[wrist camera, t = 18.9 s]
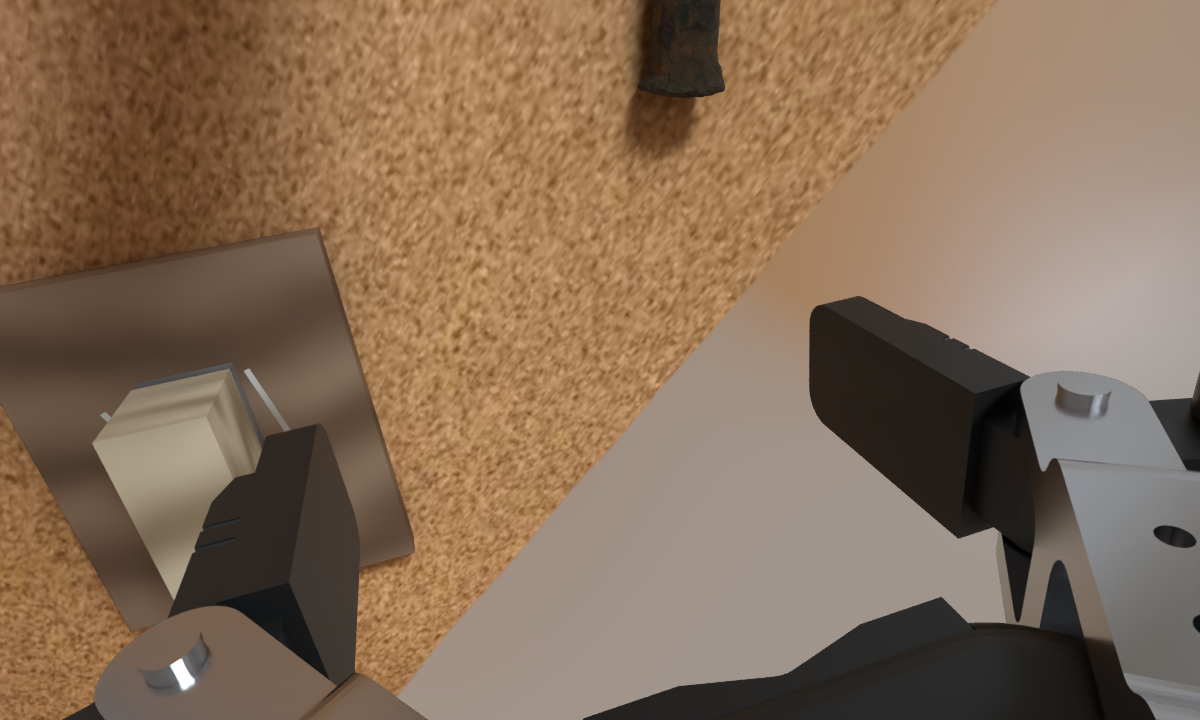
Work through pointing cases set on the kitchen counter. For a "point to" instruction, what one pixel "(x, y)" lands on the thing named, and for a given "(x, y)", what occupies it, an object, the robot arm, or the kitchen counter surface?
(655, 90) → the hand tool
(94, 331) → the walnut board
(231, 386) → the block
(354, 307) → the kitchen counter surface
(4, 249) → the kitchen counter surface
